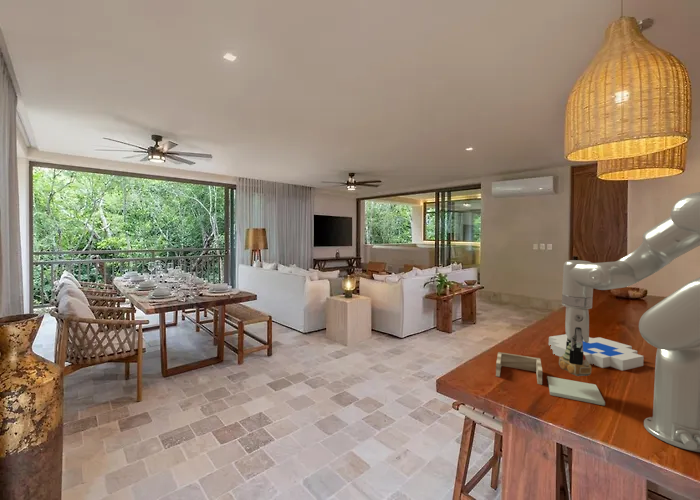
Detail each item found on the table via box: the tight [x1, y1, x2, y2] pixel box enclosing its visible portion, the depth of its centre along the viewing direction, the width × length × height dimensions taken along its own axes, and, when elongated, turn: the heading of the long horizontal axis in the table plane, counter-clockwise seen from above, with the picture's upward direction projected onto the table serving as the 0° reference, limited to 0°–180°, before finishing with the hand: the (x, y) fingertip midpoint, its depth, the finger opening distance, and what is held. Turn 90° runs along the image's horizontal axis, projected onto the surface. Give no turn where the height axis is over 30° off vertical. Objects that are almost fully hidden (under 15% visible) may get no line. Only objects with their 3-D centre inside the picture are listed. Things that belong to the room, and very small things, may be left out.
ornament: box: [558, 339, 593, 377], centre depth 98 cm, size 8×6×10 cm
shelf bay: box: [495, 351, 543, 385], centre depth 112 cm, size 12×13×4 cm
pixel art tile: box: [548, 333, 645, 371], centre depth 129 cm, size 28×4×28 cm
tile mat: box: [546, 375, 606, 406], centre depth 99 cm, size 12×13×1 cm
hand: (573, 358), depth 99 cm, fingers closed on ornament, 7 cm apart
